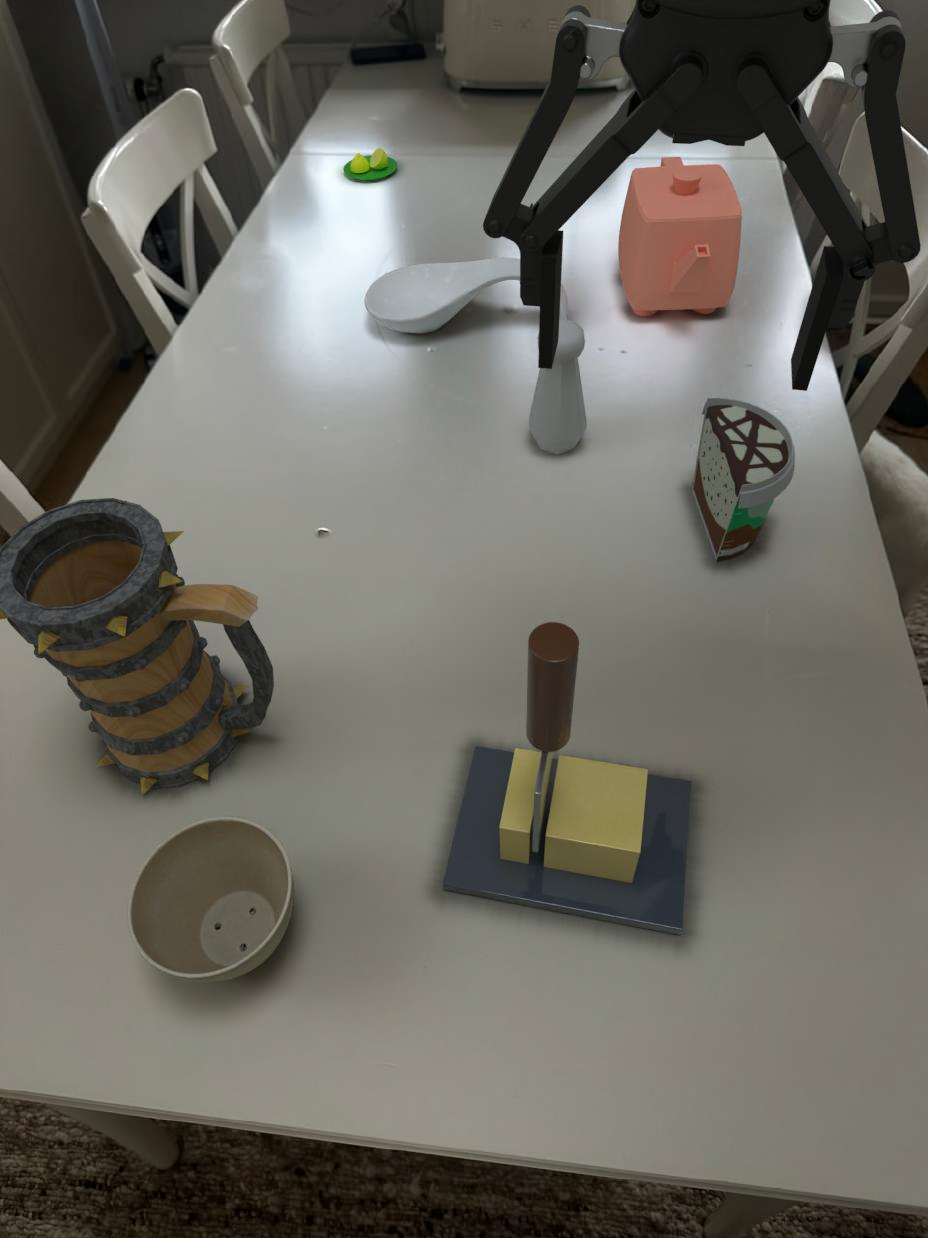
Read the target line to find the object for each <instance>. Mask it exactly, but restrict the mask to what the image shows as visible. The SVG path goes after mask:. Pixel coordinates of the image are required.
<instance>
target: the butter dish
mask: <svg viewBox="0 0 928 1238" xmlns="http://www.w3.org/2000/svg"><path fill="white" fill-rule="evenodd" d="M541 752H542V751H539V750H532V749H525V748H519V747H515V748H514V751H511V750H504V749H499V748H492V747H485V746H479V745H475V746H474V749H473V753H472V758H471V762H470V767H469V770H468V775H467V779H466V783H465V788H464V792H463V797H462V800H461V805H460V809H459V813H458V817H457V822H456V826H455V830H454V834H453V838H452V843H451V848H450V852H449V856H448V860H447V865H446V868H445V873H444V876H443V881H442V887H443V890H444V891H449V892H455V893H459V894H464V895H470V896H474V897H480V898H485V899H490V900H495V901H502V902H506V903H512V904H516V905H522V906H527V907H532V908H537V909H541V910H548V911H553V912H558V913H562V914H569V915H573V916H578V917H583V918H589V919H594V920H600V921H605V922H608V923H609V922H610V923H615V924H620V925H626V926H632V927H634V928H635V927H637V928H641V929H646V930H650V931H651V930H652V931H657V932H662V933H666V934H672V935H676V936H681V935H682V932H683V930H684V919H685V918H684V917H685V903H686V902H685V900H686V883H687V882H686V881H687V865H688V847H689V830H690V814H691V813H690V811H691V797H692V795H691V794H692V781H691V780H688V779H684V778H683V779H682V778H675V777H669V776H663V775H657V774H653V773H649V770H648V769H647V768H642V767H638V766H637V767H636V766H629V765H623V764H618V763H611V762H604V761H600V760H599V761H598V760H592V759H588V758H580V757H574V756H570V755H569V756H568V755H561V754H559V755H558V757H557V758H554V761H553V767H552V773H551V779H550V785H549V791H548V797H547V803H546V809H545V815H544V821H543V827H542V832H541V838H540V844H539V850H538V852H533V851H532V838H533V812H534V791H535V786H536V780H537V774H538V769H539V763H540V758H541Z"/></svg>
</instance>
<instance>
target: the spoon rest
mask: <svg viewBox="0 0 928 1238" xmlns="http://www.w3.org/2000/svg"><path fill="white" fill-rule="evenodd" d="M506 281H519V282H520V258H516V257H496V258H487V259H480V260H470V261H455V262H427V263H417V264H412V265H406V266H403V267H399V268H395V269H392V270H390V271H388V272H386V273H384V274H383V275H381V276H379V277H378V278H377V279H375V280H374V282H373V283H371V285H370V286H369V287H368V288H367V290H366V293H365V296H364V300H363V302H364V306H365V310H366V311H367V313H368V314H369V315H370V316H371V317H372V318H373V319H374V320H375V321H377V322H378V323H379V324H381V325H383V326H384V327H386V328H387V329H390V330H392V331H397V332H402V333H409V334H428V333H432V332H434V331H437V330H438V329H440V328H442V327H443V326H444V325H445V324H446V323H448V322H449V321H450V320H451V319H452V318H454V317H455V316H456V315H457V314H458V313H459V312H460V311H461V310H462V309H463V308H464V307H465V306H466V305H467V304H468V303H470V302H471V301H472V300H474V298H475V297H476V296H478V295H479V294H481V292H483V291H484V290H486V289H487V288H489V287H491V286H493V285H496V284H497V283H501V282H506ZM564 287H565V286H564V285H563V283H562V282H561V295H560V316H559V319H563V320H568V314H569V306H568V305H569V304H568V296H567V293H566V292H567V291H566V290H565V288H564Z"/></svg>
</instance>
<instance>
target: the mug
mask: <svg viewBox="0 0 928 1238" xmlns="http://www.w3.org/2000/svg"><path fill="white" fill-rule="evenodd" d="M184 532H185V531H184V530H180V531H179V530H178V531H177V530H175V531H163V527H162V524H161V522H160V519H158V518H157V517H156V516H155V515H153V514H152V513H151V512H149V511H148V510H147V509H146V508H145V507H143V506H142V505H141V504H138V503H135V502H131V501H128V500H122V499H120V498H119V499H118V498H115V497H105V498H104V497H103V498H89V499H87V498H86V499H79V500H76V501H73V502H70V503H67V504H64V505H60V506H56V507H54V508H50V509H48V510H46V511H45V512H43V513H42V514H40V515H38V516H36V517H35V518H33V519H31V520H30V521H28V522H26V523H25V524H23V525H22V526H20V527H19V528H18V529H17V530H16V531H15V532H14V533H13V534H12V535H11V536H10V537H9V538H8V539H7V540H6V542H4V543H3V545H2V546H1V547H0V620H7V622H8V623H9V625H10V626H11V627H12V628H13V629H14V630H15V632H17V633H18V635H20V637H22V638H23V639H24V640H25V641H26V642H27V644H30V645H33V648H34V649H33V654H34V656H35V657H36V659H45V660H46V661H47V663H48V664H50V665H51V666H52V667H54V668H55V669H57V670H58V671H59V672H61V675H62V676H63V677H65V678H66V682H67V685H68V687H69V688H70V690H71V692H72V693H73V694H74V695H75V697H76V698H77V699H78V700H79V702H78V707H79V709H80V710H81V711H83V712H90V717H91V721H90V722H89V724H88V726H87V728H88V730H89V731H90V732H91V733H95V734H97V735H98V736H99V738H100V739H101V740H102V744H103V748H104V753H105V755H104V756H103V757H102V758H101V759H100V761H98V763H96V766H95V767H100V766H106V765H107V766H108V765H114V766H115V768H117V770H119V771H120V773H122V775H123V776H124V777H125V778H126V780H128V781H130V782H133V783H136V784H138V785H140V793H141V796H143V795H144V794H146V793H147V791H149V790H150V789H163V788H179V787H181V786H184V785H187V784H189V783H192V782H195V781H197V780H200V779H203V780H205V781H209V774H210V773H211V772H212V771H214V770H215V769H216V768H217V767H218V766H219V765H221V764H222V763H223V762H224V761H225V760H227V759H228V757H229V756H230V754H231V753H232V751H233V749H234V747H235V746H236V744H237V743H238V741H239V739H240V737H241V735H246V734H249V733H251V730H250V729H255V728H257V727H259V726H261V725H262V724H263V722H264V720H265V718H266V715H267V711H268V708H269V706H270V704H271V702H272V698H273V693H274V688H275V682H274V680H275V679H274V667H273V664H272V662H271V659H270V657H269V655H268V652H267V650H266V647H265V645H264V644H263V642H262V641H261V639H260V637H259V636H258V634H257V633H256V631H255V629H254V627H253V625H252V622H251V621H250V619H251V618H252V616H253V615H254V614H255V613H256V612H257V611H258V610H259V608H258V600H259V596H258V595H257V594H254V593H252V592H250V591H248V590H246V589H244V588H241V587H239V586H236V585H233V584H212V583H197V584H195V583H194V584H186V582H185V581H186V580H185V579H184V578H183V576H179V575H178V565H177V562H176V558H175V556H174V553H173V549H172V547H171V544H172V543H173V542H174V541H175V540H177V539H178V538H179V537H180V536H181V535H183V533H184ZM195 621H197V622H205V623H211V624H219V625H222V627H223V630H224V632H225V633H226V636H227V637H228V639H229V641H230V643H231V645H232V646H233V648H234V649H235V651H236V653H237V654H238V656H239V657H240V660H242V662H243V664H244V666H245V668H246V670H247V672H248V675H249V677H250V678H251V682H252V692H253V698H252V702H249V703H246V704H240V702H239V701H240V700H239V698H240V696H241V695H243V693H244V692H245V691H246V690H247V689H248V688H249V685H247V686H235V687H234V686H233V684H232V682H231V681H230V680H229V678H227V677H226V676H225V675H224V674H223V673H222V670H221V666H220V663H221V659H220V657H219V656H218V655H216V654H215V655H214V654H213V655H210V654H209V653H208V652H207V651H206V650H205V649H206V647H207V646H208V640H207V639H206V637H204V636H200V633H199V629H198V628H197V626H196V624H195Z"/></svg>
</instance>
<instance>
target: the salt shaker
mask: <svg viewBox="0 0 928 1238" xmlns="http://www.w3.org/2000/svg"><path fill="white" fill-rule="evenodd" d="M585 344H586V339H585V330H584V328H582V327H581V326H580V324H578V323H577V322H575V321H573V320H570V319H567V320H563V319H559V338H558V345H557V349H556V353H555V357H554V361H553V366H552V369H546V368H539V371H538V375H537V378H536V379H537V380H536V383H535V389H534V393H533V398H532V403H531V406H530V409H529V410H530V411H529V415H528V428H529V432H530V434H532V437H533V439H534V440H535V442H536V443H537V445H538V447H539V449H540V450H541V451H542V452H543V451H544V452H547V453H550V454H554V455H561V454H563V453H566V452H569V451H571V450H574V449H575V447H576V446H577V444H578V443H579V441H580V440H581V438H582V436H583V435H584V433H585V431H586V430H587V425H588V422H587V413H586V406H585V399H584V392H583V385H582V378H581V377H582V376H581V371H580V365H579V363H580V362H579V357H580V356H581V355H582V353H583V351H584V349H585ZM537 348H538V351H539V333H538V334H537Z"/></svg>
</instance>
